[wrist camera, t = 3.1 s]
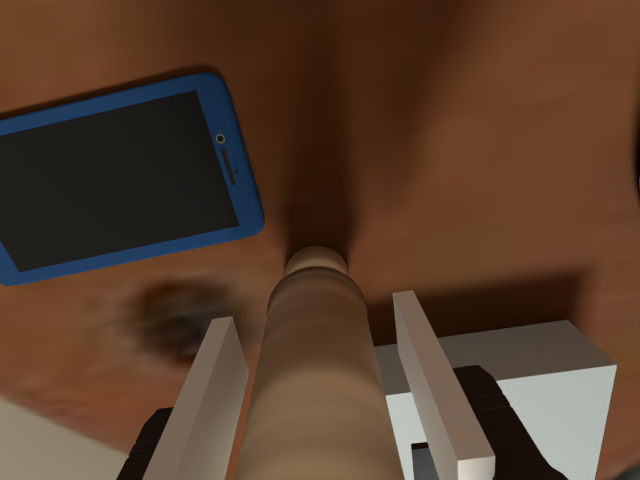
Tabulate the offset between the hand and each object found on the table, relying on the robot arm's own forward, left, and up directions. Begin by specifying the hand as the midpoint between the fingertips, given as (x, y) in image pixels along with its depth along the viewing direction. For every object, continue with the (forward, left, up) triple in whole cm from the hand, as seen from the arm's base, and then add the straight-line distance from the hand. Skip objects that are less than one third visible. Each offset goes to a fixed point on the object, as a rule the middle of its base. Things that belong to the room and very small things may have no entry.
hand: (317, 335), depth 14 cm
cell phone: (-6, -9, -6) cm, 12 cm away
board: (+11, +6, -5) cm, 13 cm away
